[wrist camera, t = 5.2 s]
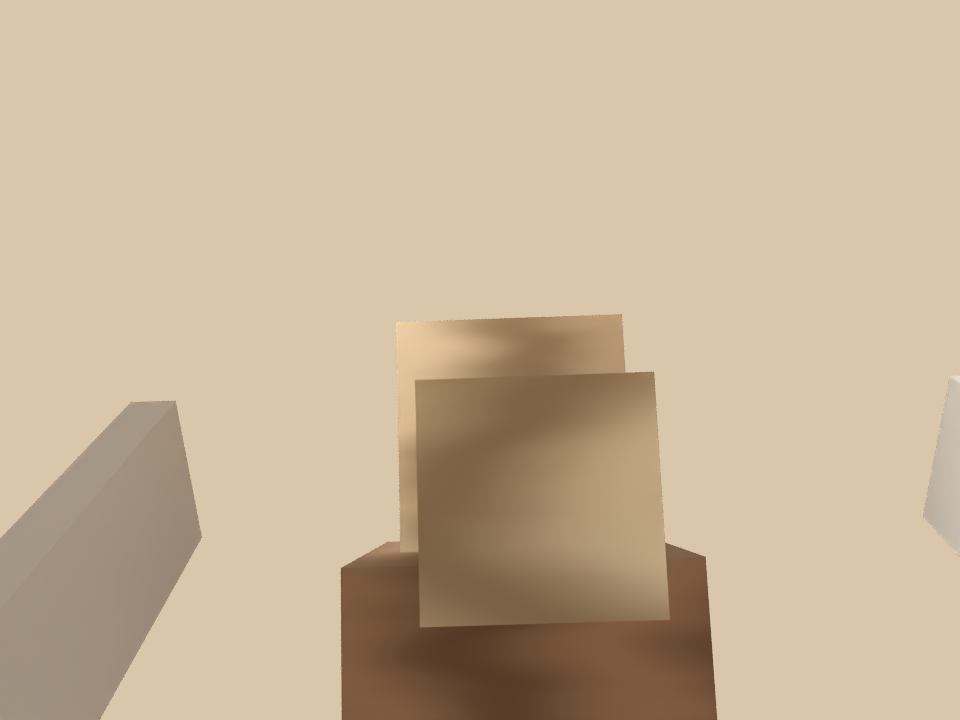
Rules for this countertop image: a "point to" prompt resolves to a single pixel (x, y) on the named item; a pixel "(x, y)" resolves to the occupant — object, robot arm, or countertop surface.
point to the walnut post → (520, 655)
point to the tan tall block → (529, 472)
